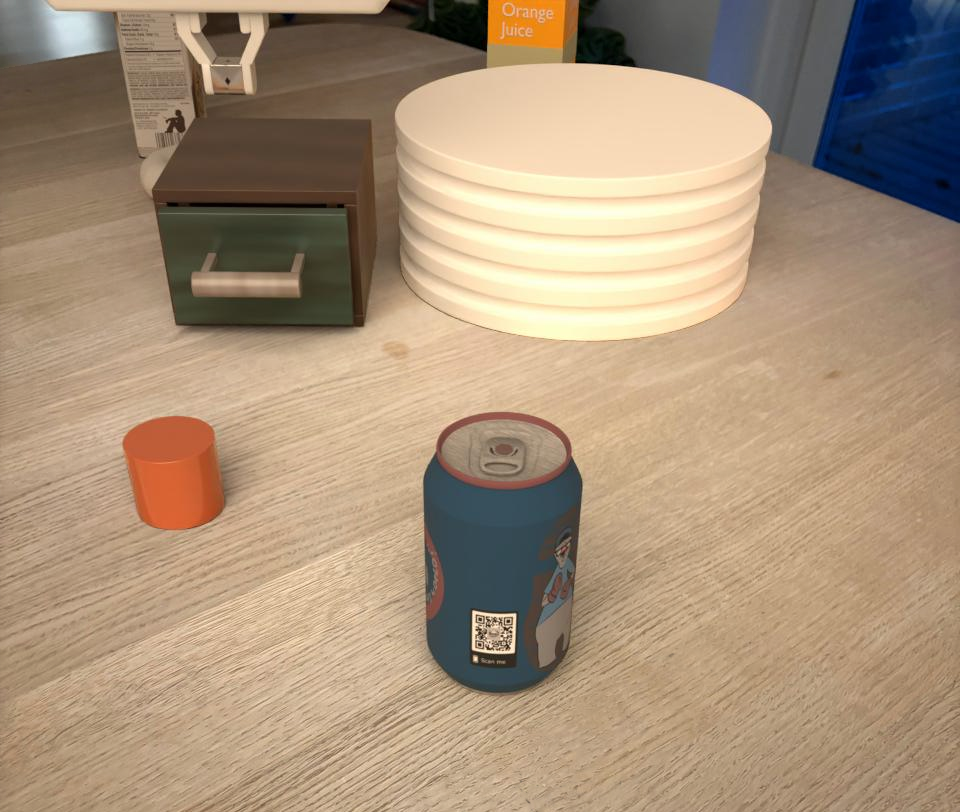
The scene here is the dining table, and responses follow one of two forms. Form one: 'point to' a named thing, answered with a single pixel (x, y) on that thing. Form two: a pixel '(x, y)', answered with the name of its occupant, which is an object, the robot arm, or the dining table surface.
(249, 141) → the cabinet
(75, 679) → the dining table surface
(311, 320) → the drawer
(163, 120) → the coffee box
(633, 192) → the plate stack
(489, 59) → the orange juice
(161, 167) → the donut
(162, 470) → the orange cylinder block
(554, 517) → the soda can
